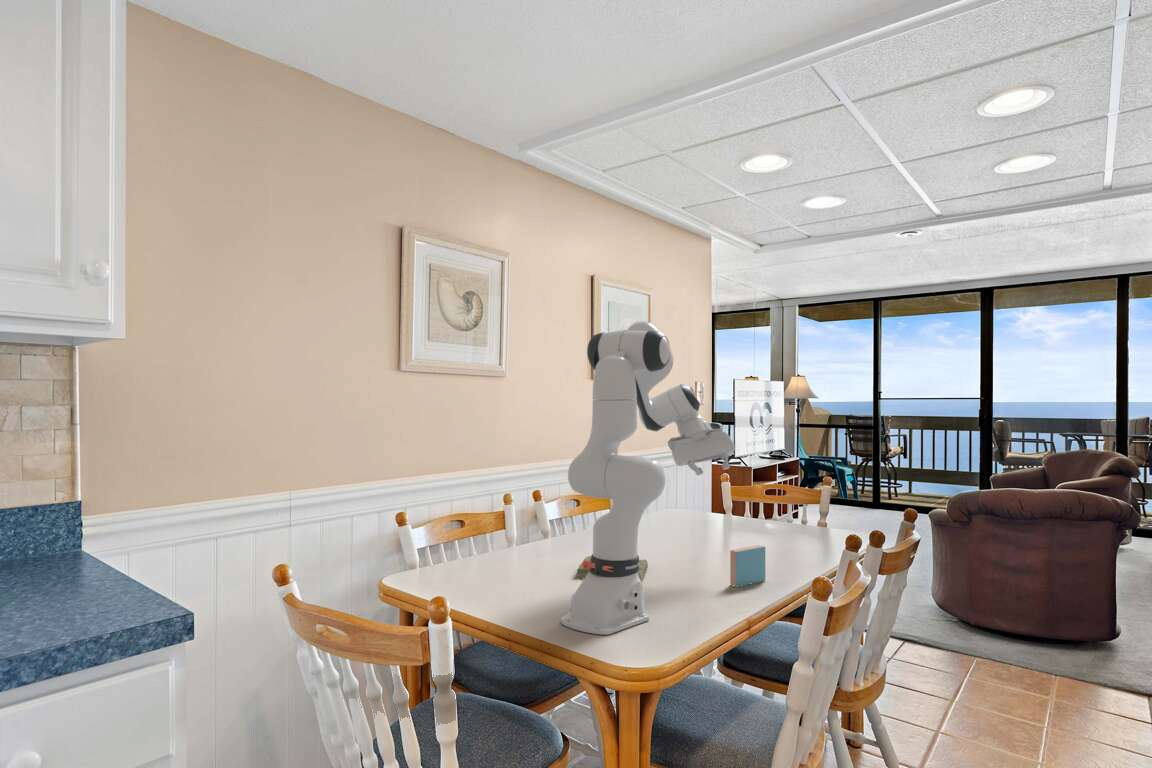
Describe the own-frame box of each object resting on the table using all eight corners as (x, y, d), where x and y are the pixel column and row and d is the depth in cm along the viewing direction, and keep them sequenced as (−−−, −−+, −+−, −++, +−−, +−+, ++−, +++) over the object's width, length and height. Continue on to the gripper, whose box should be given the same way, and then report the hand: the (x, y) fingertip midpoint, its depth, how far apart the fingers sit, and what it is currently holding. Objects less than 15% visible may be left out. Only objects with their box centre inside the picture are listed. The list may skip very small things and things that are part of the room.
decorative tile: (585, 565, 204) (585, 554, 204) (648, 569, 200) (648, 557, 200) (573, 581, 186) (573, 569, 186) (641, 585, 182) (642, 573, 182)
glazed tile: (736, 587, 179) (736, 551, 179) (730, 585, 181) (730, 550, 181) (765, 581, 186) (765, 546, 186) (758, 579, 188) (758, 545, 188)
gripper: (668, 433, 194) (687, 472, 186) (725, 422, 201) (745, 460, 193) (662, 444, 199) (680, 483, 191) (718, 433, 205) (737, 470, 198)
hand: (713, 471), depth 192 cm, fingers open, 8 cm apart
